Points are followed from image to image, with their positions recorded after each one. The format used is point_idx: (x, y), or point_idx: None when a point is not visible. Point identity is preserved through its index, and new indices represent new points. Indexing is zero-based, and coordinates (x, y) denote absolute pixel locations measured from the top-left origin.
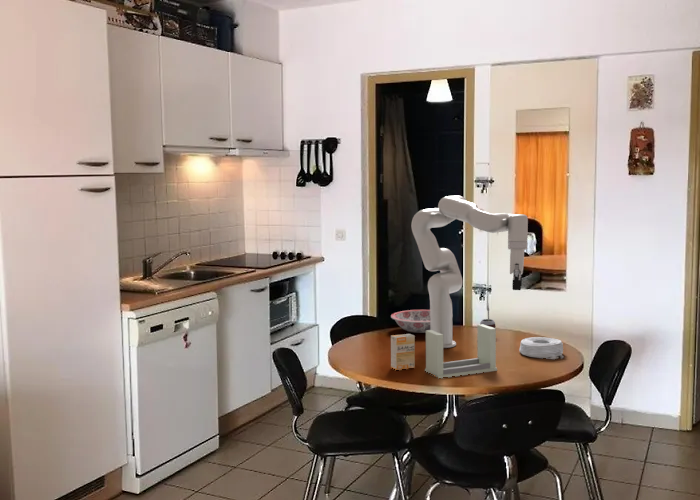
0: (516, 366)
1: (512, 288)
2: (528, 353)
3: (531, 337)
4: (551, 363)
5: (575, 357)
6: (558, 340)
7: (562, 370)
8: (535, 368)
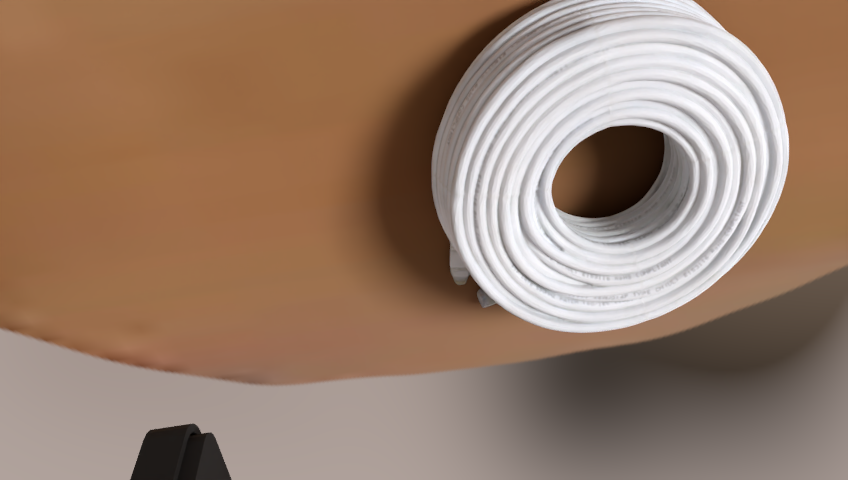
0: (138, 42)
1: (141, 454)
2: (457, 91)
3: (760, 93)
4: (336, 252)
5: (539, 349)
6: (657, 304)
7: (188, 332)
8: (152, 181)
